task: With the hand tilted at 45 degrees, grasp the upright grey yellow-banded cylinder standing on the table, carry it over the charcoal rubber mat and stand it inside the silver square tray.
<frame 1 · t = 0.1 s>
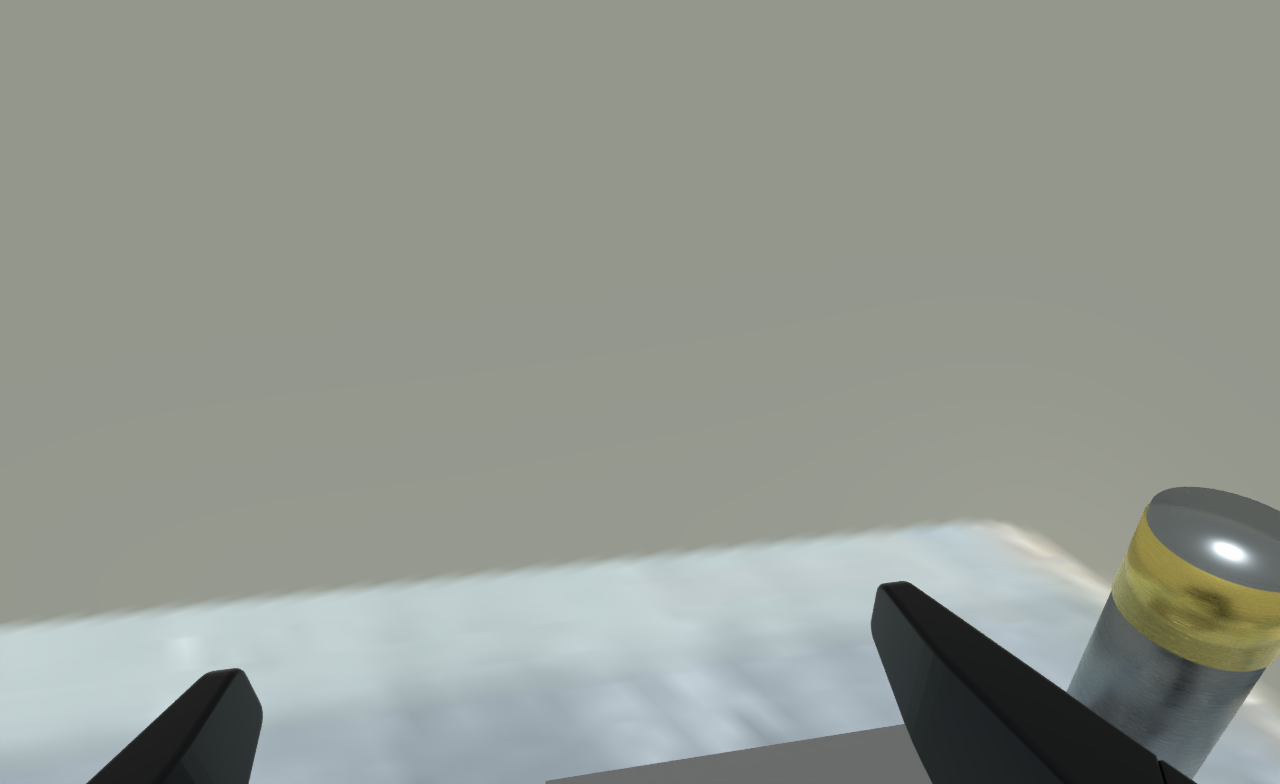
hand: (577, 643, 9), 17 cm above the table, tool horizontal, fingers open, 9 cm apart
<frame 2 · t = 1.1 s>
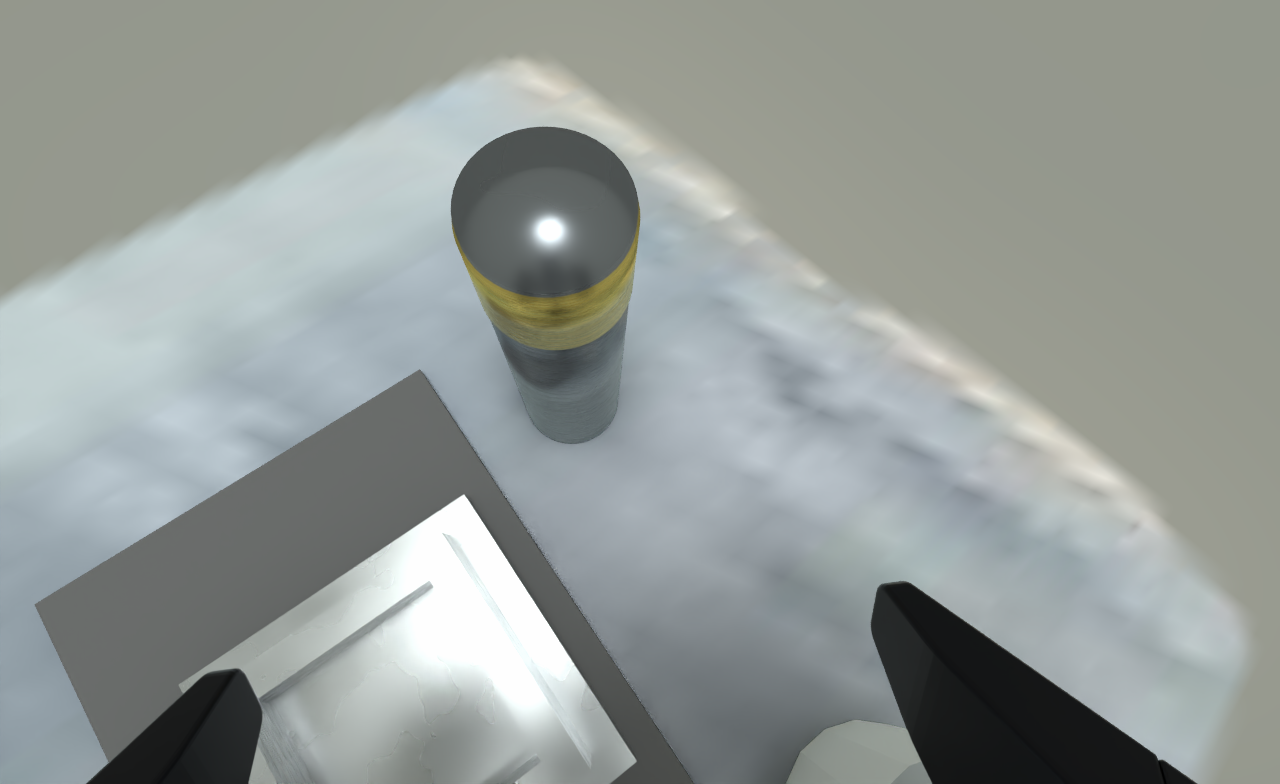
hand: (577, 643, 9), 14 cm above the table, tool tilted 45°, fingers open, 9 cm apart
grey yellow-banded cylinder: (572, 399, 24), on the table
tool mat: (407, 764, 21), on the table
silver square tray: (415, 718, 21), resting on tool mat
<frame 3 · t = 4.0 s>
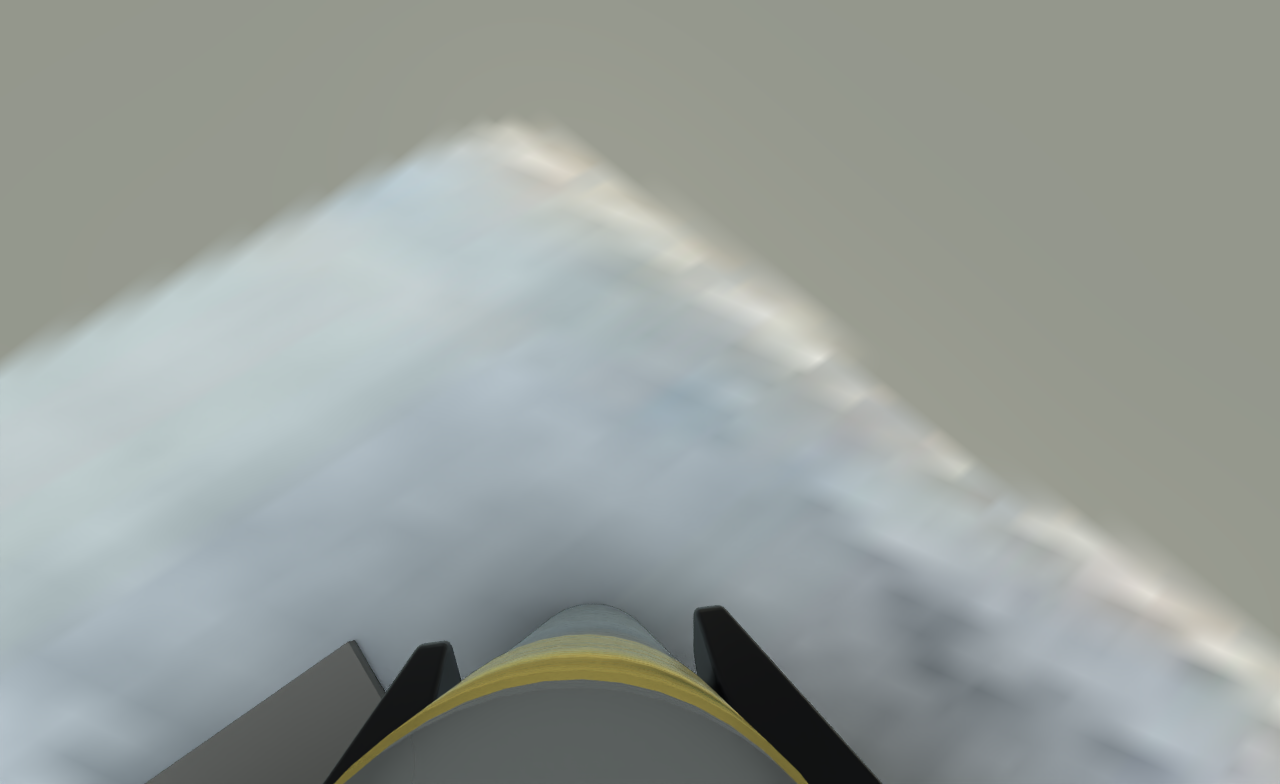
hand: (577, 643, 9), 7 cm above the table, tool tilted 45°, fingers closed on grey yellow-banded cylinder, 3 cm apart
grey yellow-banded cylinder: (591, 679, 15), on the table, touching gripper
when the fingers open (9 cm above the table, at t = 7.0 s): grey yellow-banded cylinder stays where it is, resting on silver square tray.
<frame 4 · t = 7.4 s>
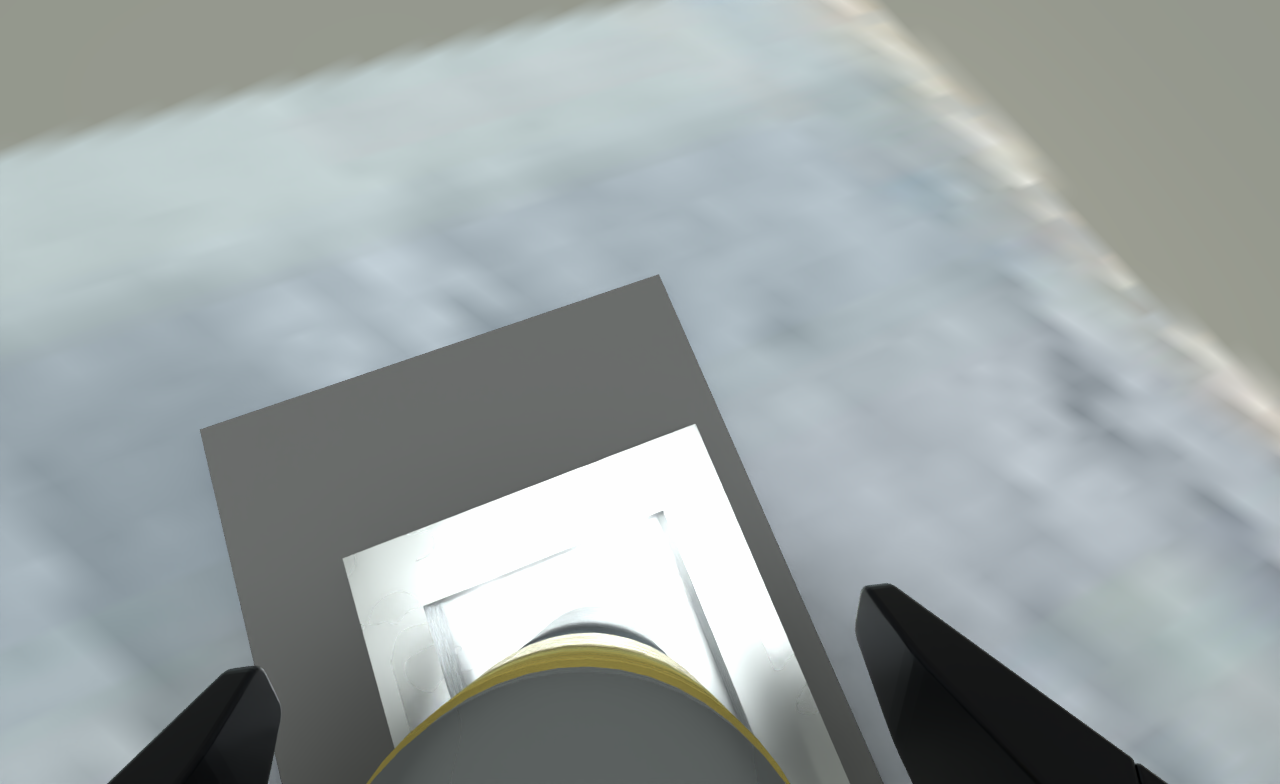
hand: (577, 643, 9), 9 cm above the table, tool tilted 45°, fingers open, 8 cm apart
grey yellow-banded cylinder: (592, 677, 16), point 1 cm above the table, touching silver square tray
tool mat: (570, 719, 17), on the table
silver square tray: (592, 668, 17), resting on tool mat
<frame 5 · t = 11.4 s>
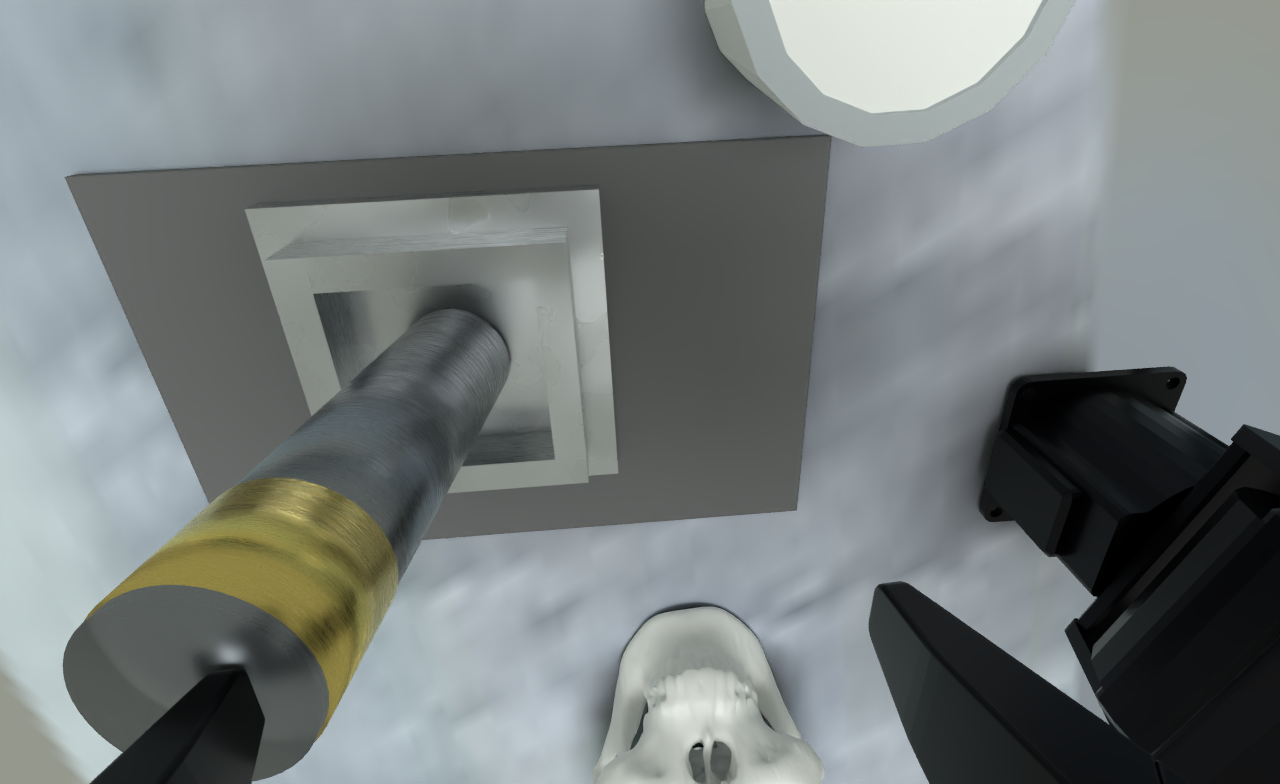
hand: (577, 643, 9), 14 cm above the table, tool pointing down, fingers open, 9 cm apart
grey yellow-banded cylinder: (456, 360, 21), point 1 cm above the table, tilted 7°, touching silver square tray, gripper
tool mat: (494, 367, 23), on the table
silver square tray: (458, 347, 22), resting on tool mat
skull bowl: (695, 709, 32), on the table
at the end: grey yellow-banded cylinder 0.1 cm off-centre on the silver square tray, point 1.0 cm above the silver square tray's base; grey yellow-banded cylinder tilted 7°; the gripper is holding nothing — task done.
